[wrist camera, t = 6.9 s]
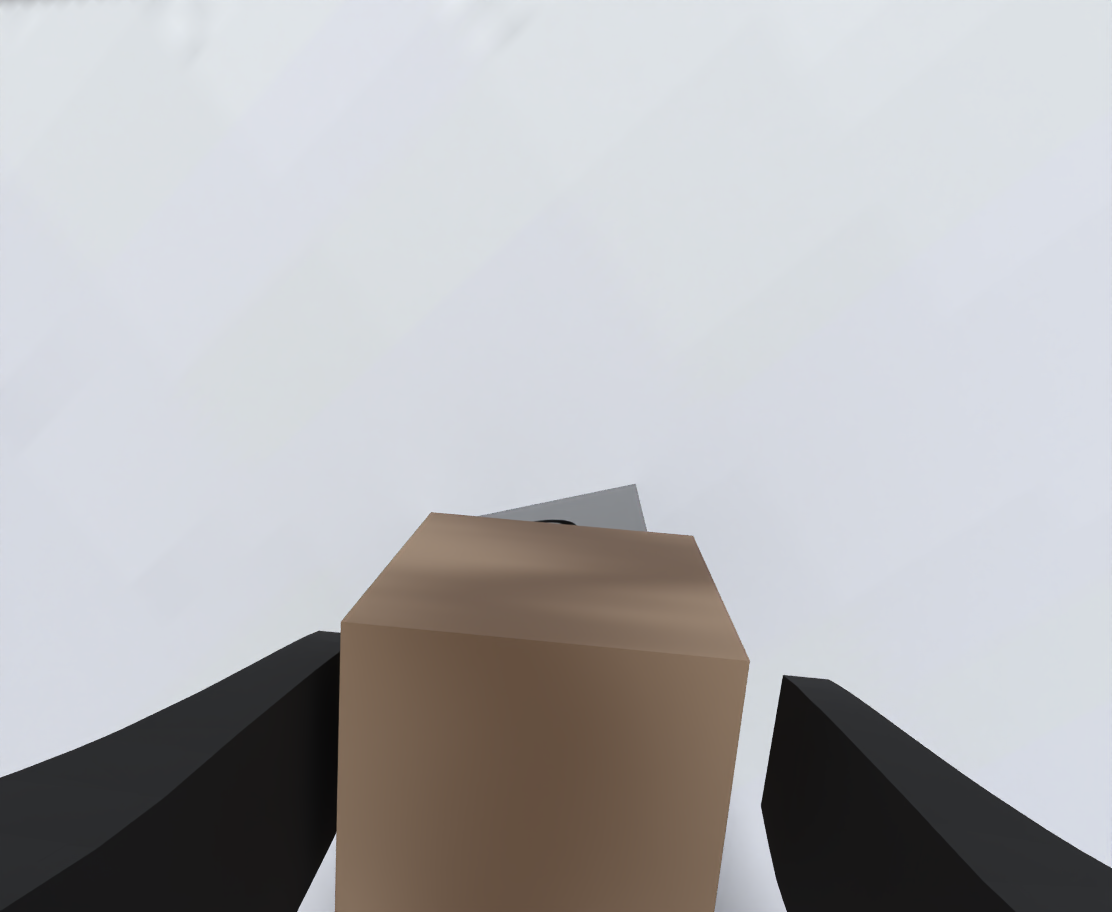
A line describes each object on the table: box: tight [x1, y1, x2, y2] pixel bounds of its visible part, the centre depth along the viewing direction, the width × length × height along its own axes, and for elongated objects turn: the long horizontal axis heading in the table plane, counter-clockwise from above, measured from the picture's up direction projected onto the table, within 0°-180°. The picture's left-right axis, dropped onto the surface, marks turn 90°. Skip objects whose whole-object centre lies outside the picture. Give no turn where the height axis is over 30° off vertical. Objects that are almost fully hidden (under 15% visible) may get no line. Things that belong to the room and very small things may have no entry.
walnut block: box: [335, 512, 750, 912], centre depth 10 cm, size 4×4×4 cm
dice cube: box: [477, 484, 647, 532], centre depth 15 cm, size 5×5×5 cm
